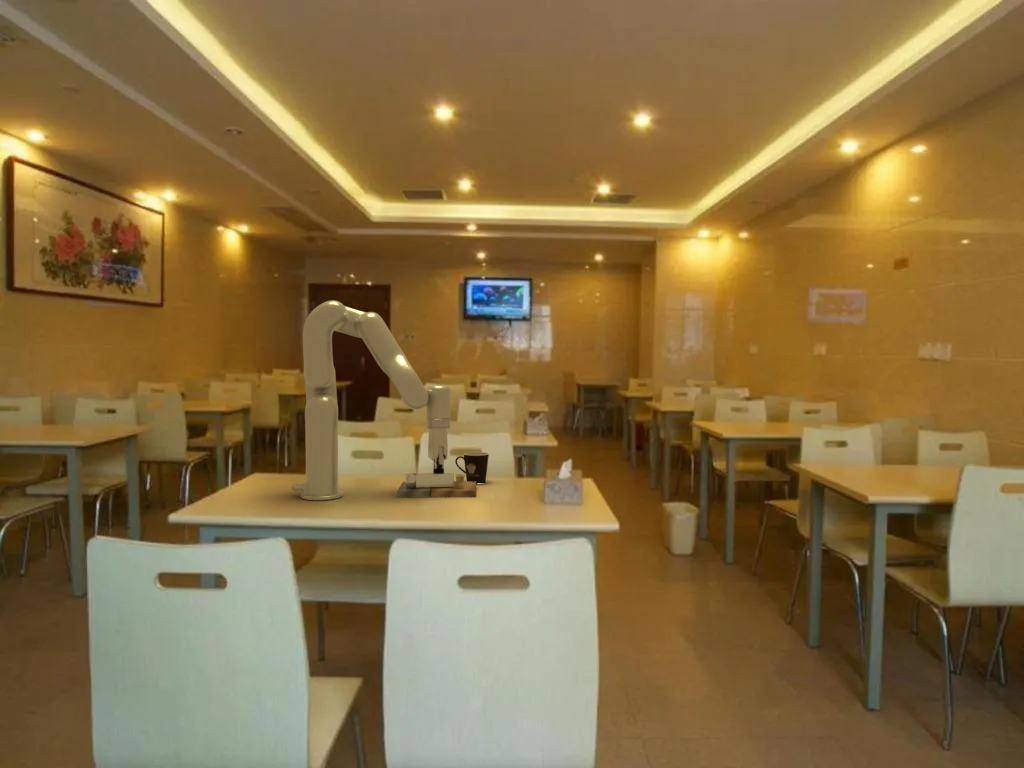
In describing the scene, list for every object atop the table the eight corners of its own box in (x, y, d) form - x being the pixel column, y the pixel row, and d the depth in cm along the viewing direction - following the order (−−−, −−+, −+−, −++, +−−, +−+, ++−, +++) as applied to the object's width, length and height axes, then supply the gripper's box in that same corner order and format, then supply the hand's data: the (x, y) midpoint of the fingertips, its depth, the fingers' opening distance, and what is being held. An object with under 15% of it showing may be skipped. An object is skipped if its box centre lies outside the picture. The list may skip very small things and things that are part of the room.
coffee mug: (493, 483, 235) (493, 454, 235) (473, 486, 230) (473, 456, 229) (473, 478, 244) (473, 450, 244) (453, 481, 238) (453, 452, 238)
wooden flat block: (397, 497, 210) (397, 477, 210) (403, 487, 226) (403, 469, 226) (475, 497, 211) (475, 477, 211) (476, 487, 227) (476, 469, 227)
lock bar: (406, 488, 213) (406, 475, 213) (405, 485, 216) (405, 473, 216) (453, 486, 215) (453, 474, 215) (452, 484, 219) (452, 472, 219)
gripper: (423, 422, 225) (423, 477, 226) (430, 426, 211) (430, 486, 211) (445, 421, 227) (446, 476, 228) (454, 425, 213) (454, 484, 213)
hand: (438, 481), depth 220 cm, fingers closed
